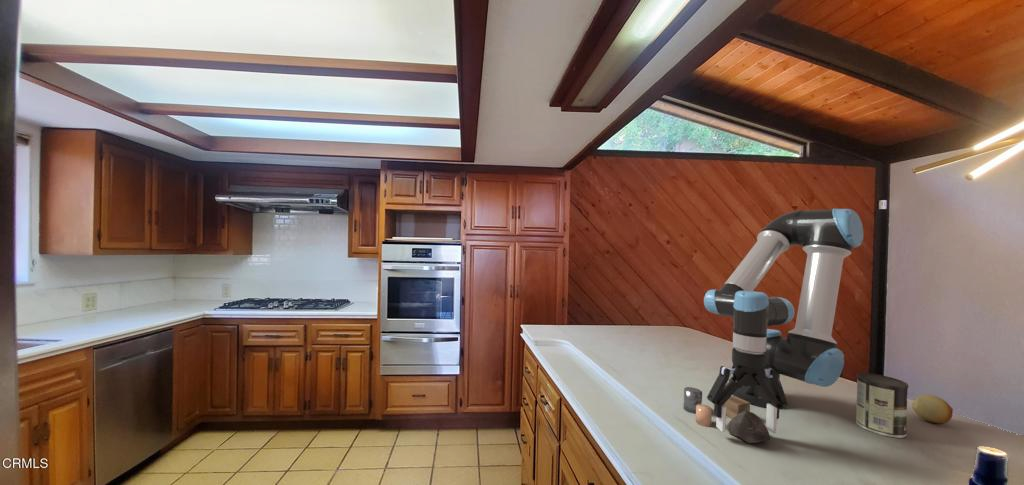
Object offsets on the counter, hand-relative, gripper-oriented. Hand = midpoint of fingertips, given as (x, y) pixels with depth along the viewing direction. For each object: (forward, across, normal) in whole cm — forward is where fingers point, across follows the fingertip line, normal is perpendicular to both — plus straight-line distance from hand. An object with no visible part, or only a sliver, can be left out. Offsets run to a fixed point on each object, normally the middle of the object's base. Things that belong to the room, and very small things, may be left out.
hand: (745, 430), depth 96 cm
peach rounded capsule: (+2, +7, -8) cm, 11 cm away
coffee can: (+2, -43, -6) cm, 44 cm away
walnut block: (+2, -5, -12) cm, 13 cm away
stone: (+3, -2, 0) cm, 3 cm away
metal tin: (+2, +6, -16) cm, 17 cm away
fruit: (+2, -63, -10) cm, 64 cm away
